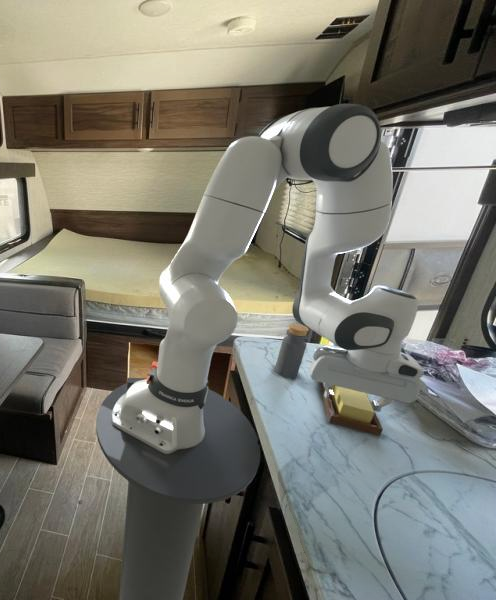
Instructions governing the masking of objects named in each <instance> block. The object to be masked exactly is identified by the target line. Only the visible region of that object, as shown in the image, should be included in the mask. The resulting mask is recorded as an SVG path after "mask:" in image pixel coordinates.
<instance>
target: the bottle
mask: <svg viewBox="0 0 496 600" xmlns="http://www.w3.org/2000/svg"><path fill="white" fill-rule="evenodd" d="M309 331H310V328H308V327H306V326H304V325H302V324H300V323H290V324H289V325H288V329H287V330H286V333H285V334H286V336H284V337H283V339H282V341H281V345H280V348H279V352H278V355H277V359H276V363H275V366H274V370H275V372H276V374H278V375H280V376H281V377H284V378H288V379H295V378H297V376H298V374H299V370H300V368H301V365H302V361H303V358H304V356H305V352H306V348H307V345H308V344H307V342H306V340H307V339H308V337H309V334H308V332H309Z"/></svg>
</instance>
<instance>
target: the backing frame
mask: <svg viewBox="0 0 496 600" xmlns="http://www.w3.org/2000/svg"><path fill="white" fill-rule="evenodd" d="M318 384H319V388H320V392H321V396H322V400H323V403H324V407H325V411H326V415H327V420H328V422H329V423H331V424H334V425H337V426H341V427H345V428H347V429H351V430H354V431H355V430H356V431H359V432H363V433H366V434H370V435H372V436H377V437H380V436H381V435H382V433H383V430H384V429H383V427H382V424H381V423H380V419H379V418H378V415H377V413H376V411H374V412H375V413H374V415H373V417H372V420H371V422H370V424H368V423H365V422H361V421H357V420H354V419H350V418H346V417H343V416H339V415H337V413H336V409H335V406H334V402H333V399H332V400H331V399H327V398H325V396H324V393H325V391H326V390H325V387H324V384H323V383H322V382H318ZM328 388H329V387H328ZM367 397H368V399H369V401H370V403H371V404H372V401H371V400H370V398H369V396H368V395H367Z"/></svg>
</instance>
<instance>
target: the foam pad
mask: <svg viewBox="0 0 496 600" xmlns="http://www.w3.org/2000/svg"><path fill="white" fill-rule="evenodd" d="M333 393H334V396H333V402H334V406H335V409H336V413H337V415H339V416H343V417H346V418H350V419H354V420H357V421H361V422H365V423H368V424H370V422H371V420H372V417H373V415H374V413H376V411H375V412H374V410H373V408H372V405H371V404H372V402H371V400H370V398H369V396H368V394H367V393H363V392H359V391H355V390H351V389H347V388H343V387H339V386H335V387H334V390H333ZM367 396H368V397H367ZM368 398H369V399H368ZM369 400H370V401H369ZM370 402H371V403H370Z"/></svg>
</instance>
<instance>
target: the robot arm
mask: <svg viewBox="0 0 496 600" xmlns="http://www.w3.org/2000/svg"><path fill="white" fill-rule="evenodd" d="M381 129H382V128H381V124H380V121H379V119H378V116H377V115H376V113H375V112H374V111H373V110H372V109H371V108H369V107H368V106H364V105H361V104H357V103H339V104H338V103H337V104H334V105H332V106H322V107H309V108H306V109H303V110H298V111H295V112H293V113H290V114H285V115H282V116H279V117H277V118H275V119H273V121H270V123H268V124H267V125H266V126H265V127H264V128H263V129H261V131H260V132H259V133H258V134H257V135H255V136H254V135H252V136H243V137H240V138H238V139H236V140H234V141H233V142H232V143H230V144H229V146H228V147H227V148H226V150H225V152H224V153H223V155H222V157H221V159H220V160H219V161H218V163H217V164H216V167H215V169H214V171H213V173H212V175H211V176H210V179H209V181H208V183H207V185H206V188H205V191H204V193H203V196H202V198H201V201H200V202H199V206H198V207H197V211H196V213H195V215H194V218H193V221H192V223H191V226H190V228H189V230H188V233H187V234H186V237H185V239H184V241H183V242H182V244H181V245H180V247H179V249H178V250H177V252H176V253H175V255H174V257H173V258H172V260H171V262H170V263H169V264H168V266H166V267H165V268H164V269H163V270H162V272H161V274H160V276H159V280H158V291H159V296H160V299H161V301H162V302H163V305H165V308H166V310H167V314H168V327H167V330H166V334H165V337H164V338H163V339H162V340H161V341H160V343H159V348H158V359H157V361H152V363H151V365H150V366H149V367H150V370H149V371H148V373H147V377H126V383H127V390H128V391H127V392H126V393H125V394H124V395H122V396H121V397H120V399H119V400H118V401H117V403H116V404H115V406H114V408H113V411H112V417H111V420H112V424H113V425H114V426H115V427H117V428H119V429H121V430H123V431H124V432H126V433H128V434H130V435H132V436H133V437H135V438H137V439H139V440H141V441H142V442H144V443H146V444H148V445H149V446H151V447H153V448H155V449H157V450H158V451H160V452H162V453H164V454H170V453H172V452H174V451H176V450H178V449H185V448H191V447H194V446H196V445H197V444H199V443H200V442H201V441H202V440H203V438H204V435H205V427H204V421H203V407H204V404H205V402H206V398H207V393H208V389H209V380H208V377H209V371H210V367H211V361H212V357H213V354H214V352H215V350H216V348H217V346H218V344H221V343H223V342H225V341H227V339H229V338H230V337H231V336H232V335H233V333H234V332H235V330H236V329H237V325H238V321H239V315H238V311H237V308H236V307H235V305H234V302H233V300H232V298H231V297H230V295H229V293H228V292H227V291H226V290H225V289H224V288H223V287H222V286H221V285H219V282H220V279H221V277H222V275H223V274H224V273H225V272H226V270H227V269H228V268H229V267H230V266H231V264H233V263H234V262H235V261H236V260H238V259H240V258H242V257H243V256H244V255H245V254H246V252H247V251H248V250H249V246H250V245H251V242H252V240H253V238H254V236H255V234H256V232H257V230H258V228H259V225H260V223H261V221H262V218H263V217H264V215H265V213H266V210H267V208H268V206H269V203H270V201H271V199H272V197H273V194H274V192H275V191H276V189H277V188H278V187H279V185H281V184H282V183H283V182H284V181H285V180H286V179H287V178H288V179H291V180H293V181H312V182H313V184H314V187H315V189H316V195H315V215H314V217H315V218H314V223H313V227H312V229H311V230H310V231H309V233H308V235H307V237H306V239H305V243H304V247H303V254H302V261H301V268H300V269H301V270H300V277H299V285H298V289H297V292H296V295H295V297H294V300H293V303H292V309H291V310H292V311H291V312H292V316H293V318H294V319H295V321H296V323H298V324H301V325H304V326H306V327H307V328H308V329H309V330H312V331H313V332H314V333H316V334H317V335H318V336H321V337H322V338H324V339H325V340H327V341H328V342H330V343H331V344H334V345H335V346H336V348H335V347H331V346H328V345H323V346H320V347H317V348H316V349H315V350H314V353H313V356H312V358H313V359H312V361H311V363H310V366H309V367H308V375H309V378H311V380H312V381H315V382H318V383H319V382H322V383H323V384H324V387H325V390H326V391H325V393H324V396H325V398H327V399H331V400H332V399H333V396H334V393H333V391H332V390H329V388H331V386H332V385H334V386H339V387H343V388H347V389H351V390H355V391H359V392H363V393H366V394H367V395H372V396H376V397H379V399H378V400H371V405H372V408H373V410H374V411H375V412H378V413H380V412H381V411H382V409H383V408H384V407H385V406H388V405H390V404H391V403H392V402H393V401H397V402H401V403H405V404H412V403H414V402H416V401H417V399H418V397H419V395H420V393H421V389H422V385H423V383H422V381H421V379H420V378H422V377H423V376H424V374H425V371H424V369H423V368H422V366H421V365H420V364H419V362H418V361H417V360H416V359H414V357H413V356H411V355H410V354H407V353H405V352H402V348H403V347H402V346H403V344H402V343H403V341H404V340H405V339H406V338H407V337H408V336H409V334H410V332H411V330H412V328H413V325H414V322H415V320H416V317H417V313H418V308H419V301H418V298H417V297H416V296H415V295H413V294H411V293H408V292H407V291H404V290H401V289H397V288H394V287H391V286H386V285H375V286H373V288H372V289H370V292H369V293H368V294H366V295H365V296H363V297H360V298H358V299H355V300H354V299H353V300H350V299H348V298H345V297H342V296H341V295H339V294H338V293H336V291H335V290H334V289H333V287H332V285H331V283H332V279H333V278H332V276H333V272H334V266H335V261H336V258H337V256H338V254H344V253H349V252H353V251H357V250H361V249H363V248H366V247H367V246H370V245H372V244H373V243H375V242H376V241H377V240H378V239H380V238H381V237H382V236H383V235H384V234H385V233H386V231H387V229H388V227H389V224H390V221H391V215H392V204H393V190H394V189H393V188H394V187H393V186H394V180H393V177H394V176H393V165H392V158H391V151H390V148H389V147H388V145H387V144H386V143H384V141H382V130H381ZM328 387H329V388H328ZM160 445H162V446H160Z"/></svg>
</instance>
